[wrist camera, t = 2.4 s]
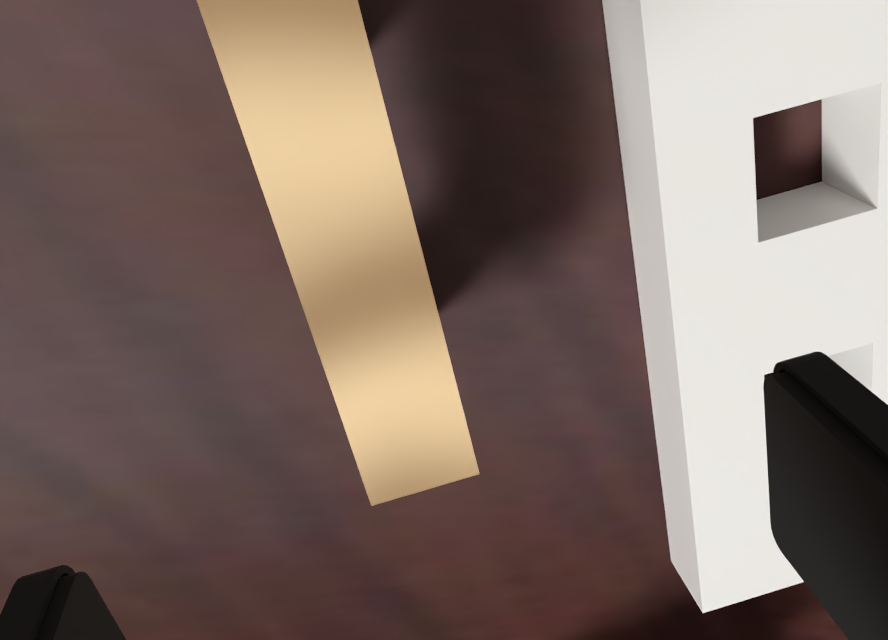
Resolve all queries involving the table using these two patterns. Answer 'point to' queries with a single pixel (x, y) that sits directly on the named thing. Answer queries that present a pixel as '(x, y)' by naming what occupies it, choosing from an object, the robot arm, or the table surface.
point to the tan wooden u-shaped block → (346, 232)
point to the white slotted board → (746, 246)
